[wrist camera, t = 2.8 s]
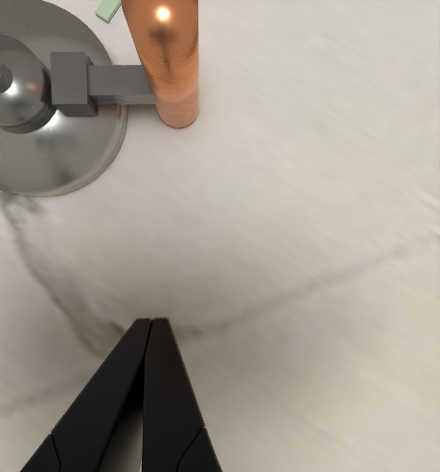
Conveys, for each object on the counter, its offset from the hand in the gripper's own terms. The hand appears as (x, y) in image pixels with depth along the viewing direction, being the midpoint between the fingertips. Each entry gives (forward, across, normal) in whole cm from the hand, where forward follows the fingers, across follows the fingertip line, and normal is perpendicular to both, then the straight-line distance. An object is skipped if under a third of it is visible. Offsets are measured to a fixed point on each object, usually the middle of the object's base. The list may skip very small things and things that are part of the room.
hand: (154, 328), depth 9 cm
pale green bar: (+19, +4, -7) cm, 21 cm away
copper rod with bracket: (+15, +2, -2) cm, 15 cm away
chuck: (+15, +8, -2) cm, 17 cm away
